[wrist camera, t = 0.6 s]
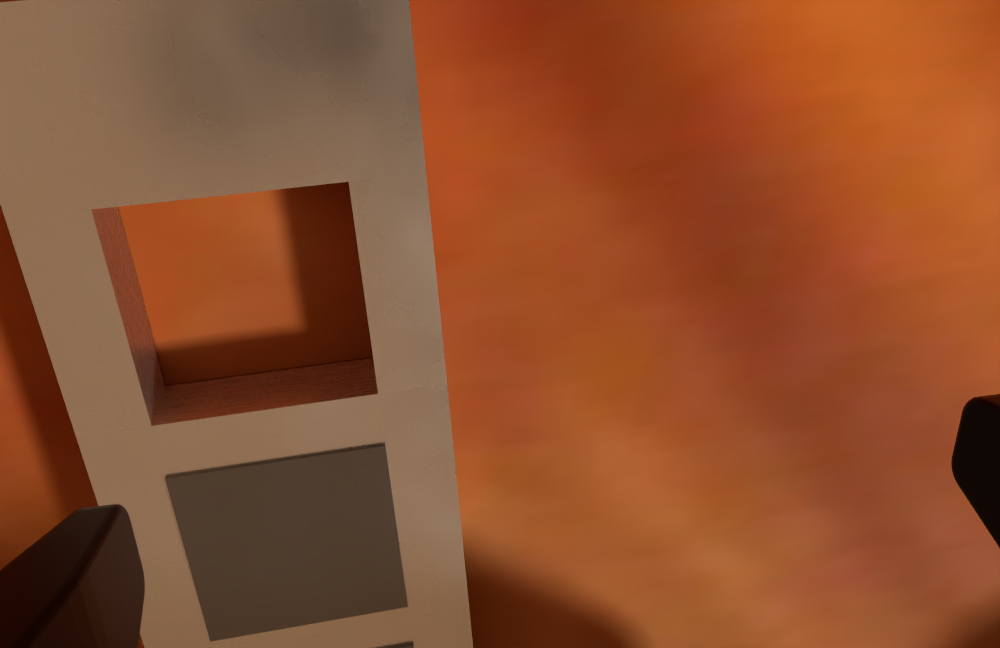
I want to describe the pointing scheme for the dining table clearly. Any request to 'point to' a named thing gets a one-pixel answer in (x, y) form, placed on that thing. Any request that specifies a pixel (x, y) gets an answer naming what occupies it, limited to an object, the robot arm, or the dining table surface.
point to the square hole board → (257, 397)
